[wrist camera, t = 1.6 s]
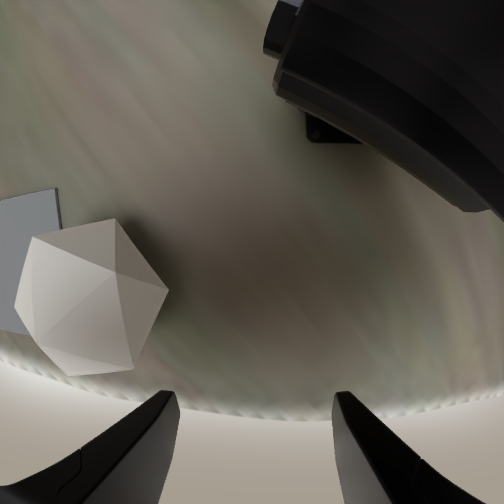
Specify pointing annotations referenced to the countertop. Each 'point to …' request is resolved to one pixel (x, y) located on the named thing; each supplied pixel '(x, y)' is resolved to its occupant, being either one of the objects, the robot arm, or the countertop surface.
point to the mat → (21, 245)
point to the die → (89, 298)
